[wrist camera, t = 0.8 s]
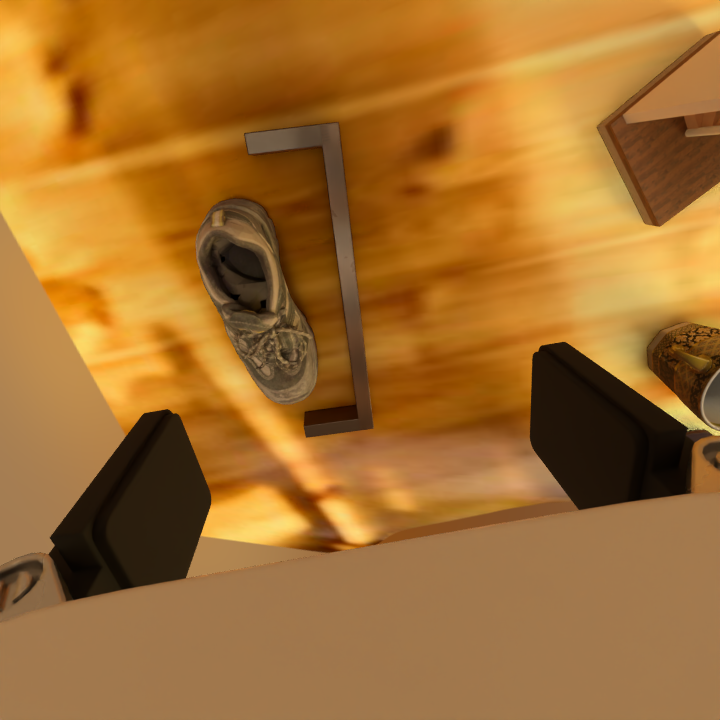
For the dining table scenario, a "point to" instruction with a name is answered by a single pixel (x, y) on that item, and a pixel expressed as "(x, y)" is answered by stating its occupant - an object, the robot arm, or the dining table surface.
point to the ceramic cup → (690, 367)
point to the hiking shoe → (256, 299)
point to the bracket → (333, 160)
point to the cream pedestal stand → (670, 134)
